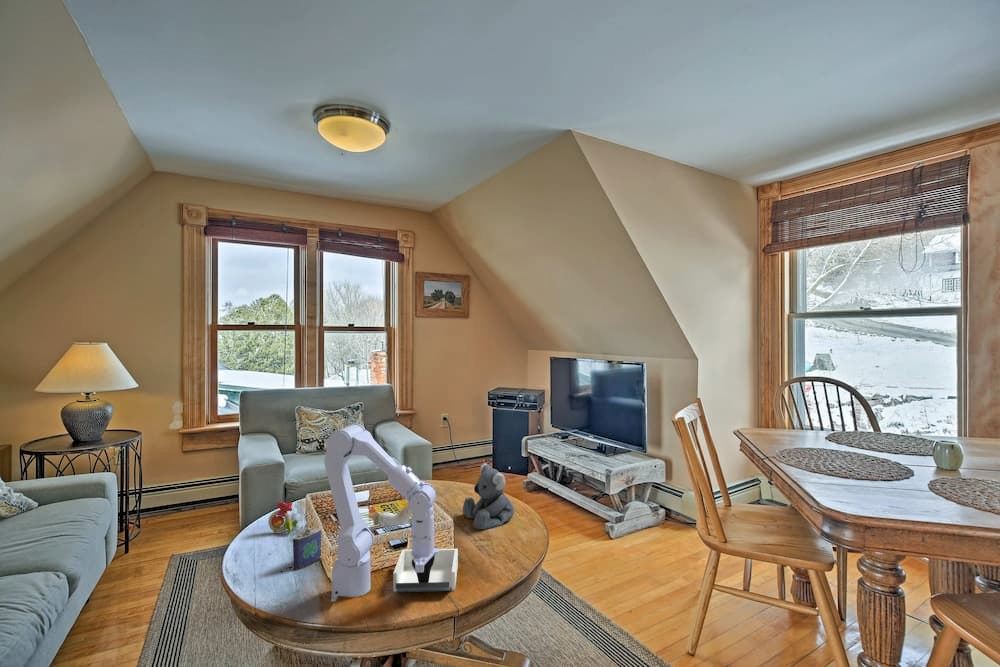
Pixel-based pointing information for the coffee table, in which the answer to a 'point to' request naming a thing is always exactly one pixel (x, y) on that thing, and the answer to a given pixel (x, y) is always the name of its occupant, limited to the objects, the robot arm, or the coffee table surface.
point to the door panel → (423, 587)
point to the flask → (307, 548)
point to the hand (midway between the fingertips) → (423, 585)
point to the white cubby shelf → (440, 570)
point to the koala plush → (489, 500)
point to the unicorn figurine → (392, 517)
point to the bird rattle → (278, 521)
